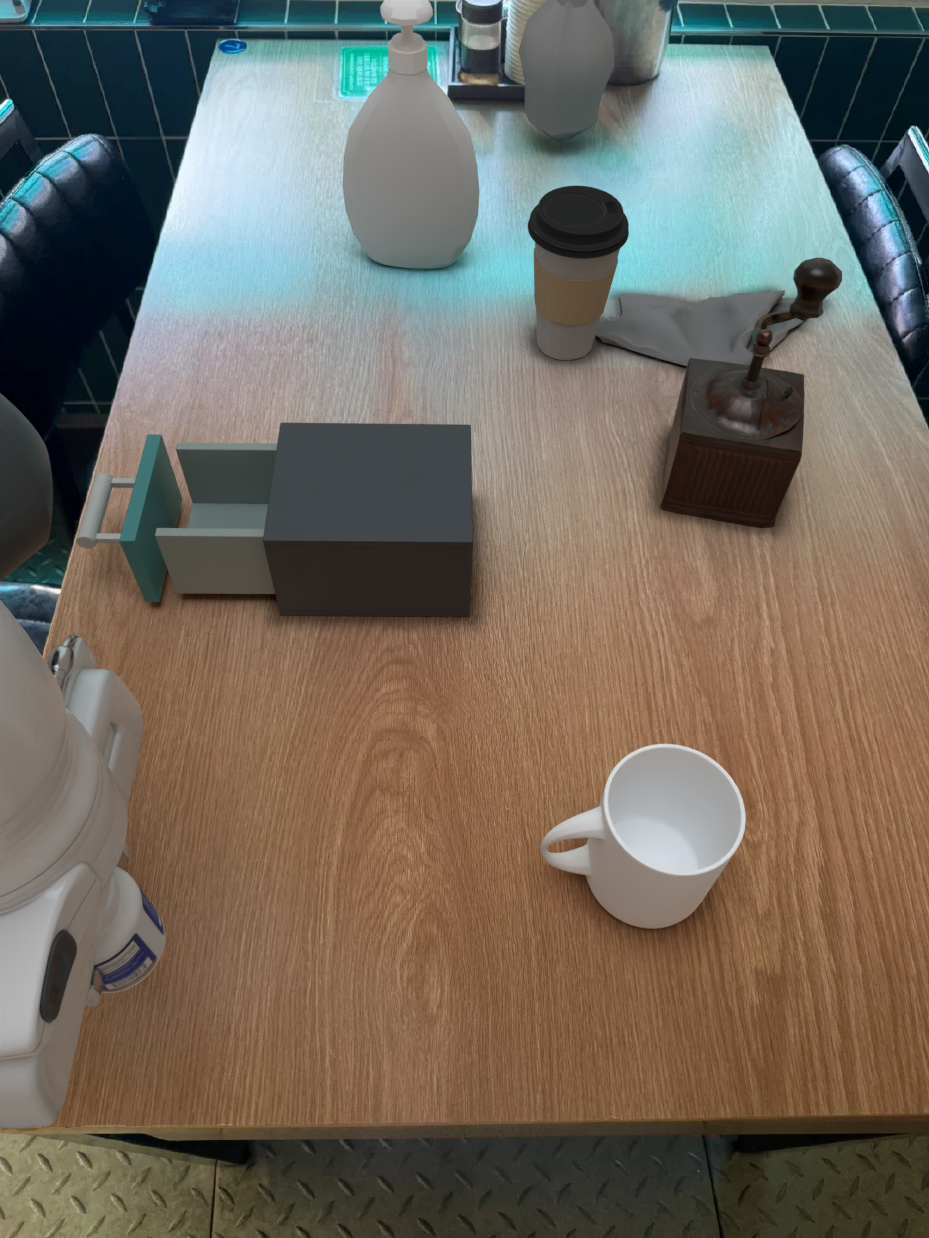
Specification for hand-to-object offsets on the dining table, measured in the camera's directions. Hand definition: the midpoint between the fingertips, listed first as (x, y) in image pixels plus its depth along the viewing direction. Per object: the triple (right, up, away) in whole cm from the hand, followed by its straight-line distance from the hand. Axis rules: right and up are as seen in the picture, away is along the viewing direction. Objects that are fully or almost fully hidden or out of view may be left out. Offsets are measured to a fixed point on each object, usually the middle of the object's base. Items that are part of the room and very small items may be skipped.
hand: (100, 927), depth 50 cm
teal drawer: (-2, +22, +31) cm, 38 cm away
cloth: (+46, +47, +50) cm, 82 cm away
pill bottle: (0, -2, +3) cm, 4 cm away
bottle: (+31, +78, +72) cm, 111 cm away
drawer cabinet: (+12, +22, +32) cm, 40 cm away
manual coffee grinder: (+44, +31, +39) cm, 67 cm away
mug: (+30, -1, +16) cm, 34 cm away
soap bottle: (+13, +57, +57) cm, 82 cm away
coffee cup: (+30, +45, +49) cm, 73 cm away
